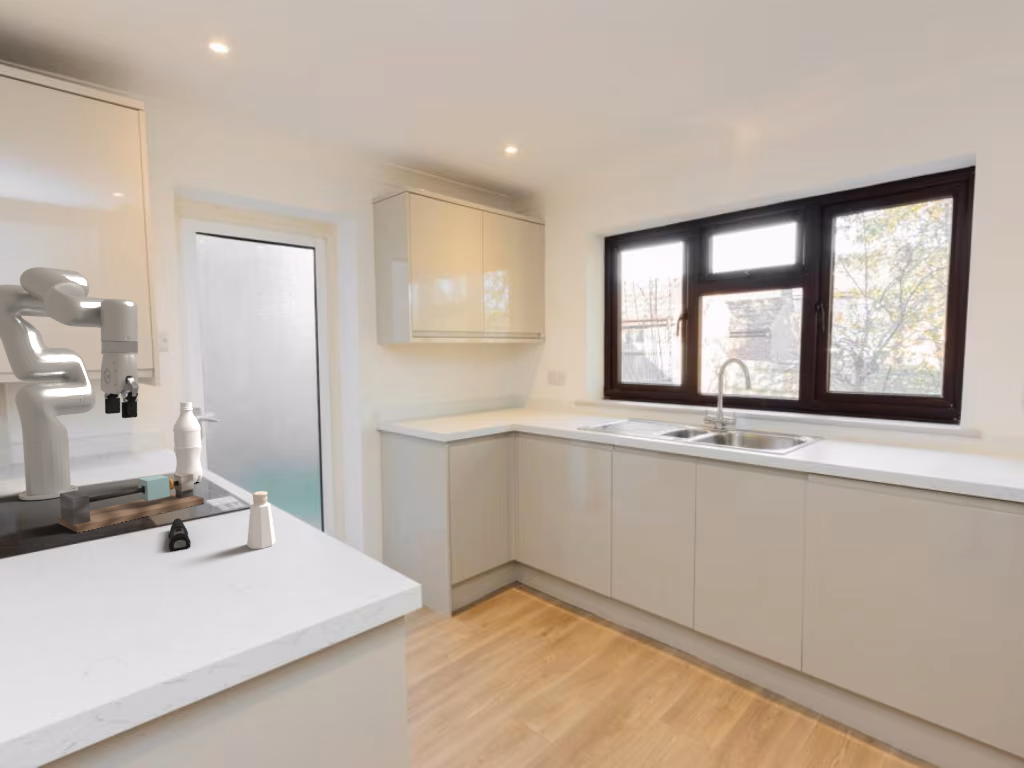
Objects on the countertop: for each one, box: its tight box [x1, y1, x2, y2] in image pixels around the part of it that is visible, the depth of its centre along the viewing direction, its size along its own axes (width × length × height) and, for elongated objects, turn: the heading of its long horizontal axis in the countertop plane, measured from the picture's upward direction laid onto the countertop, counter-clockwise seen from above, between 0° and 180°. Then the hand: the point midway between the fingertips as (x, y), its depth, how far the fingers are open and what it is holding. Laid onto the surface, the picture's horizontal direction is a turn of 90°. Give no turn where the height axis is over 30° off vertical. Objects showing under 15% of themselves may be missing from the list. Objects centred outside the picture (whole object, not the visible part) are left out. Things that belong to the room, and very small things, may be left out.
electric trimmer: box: [168, 518, 192, 552], centre depth 114 cm, size 4×16×3 cm, turn 34°
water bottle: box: [172, 401, 204, 484], centre depth 161 cm, size 7×7×25 cm
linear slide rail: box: [57, 472, 205, 534], centre depth 132 cm, size 27×12×8 cm, turn 146°
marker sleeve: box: [137, 474, 171, 501], centre depth 135 cm, size 5×5×5 cm
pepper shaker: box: [246, 490, 277, 550], centre depth 110 cm, size 5×5×11 cm
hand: (121, 415), depth 135 cm, fingers open, 9 cm apart
